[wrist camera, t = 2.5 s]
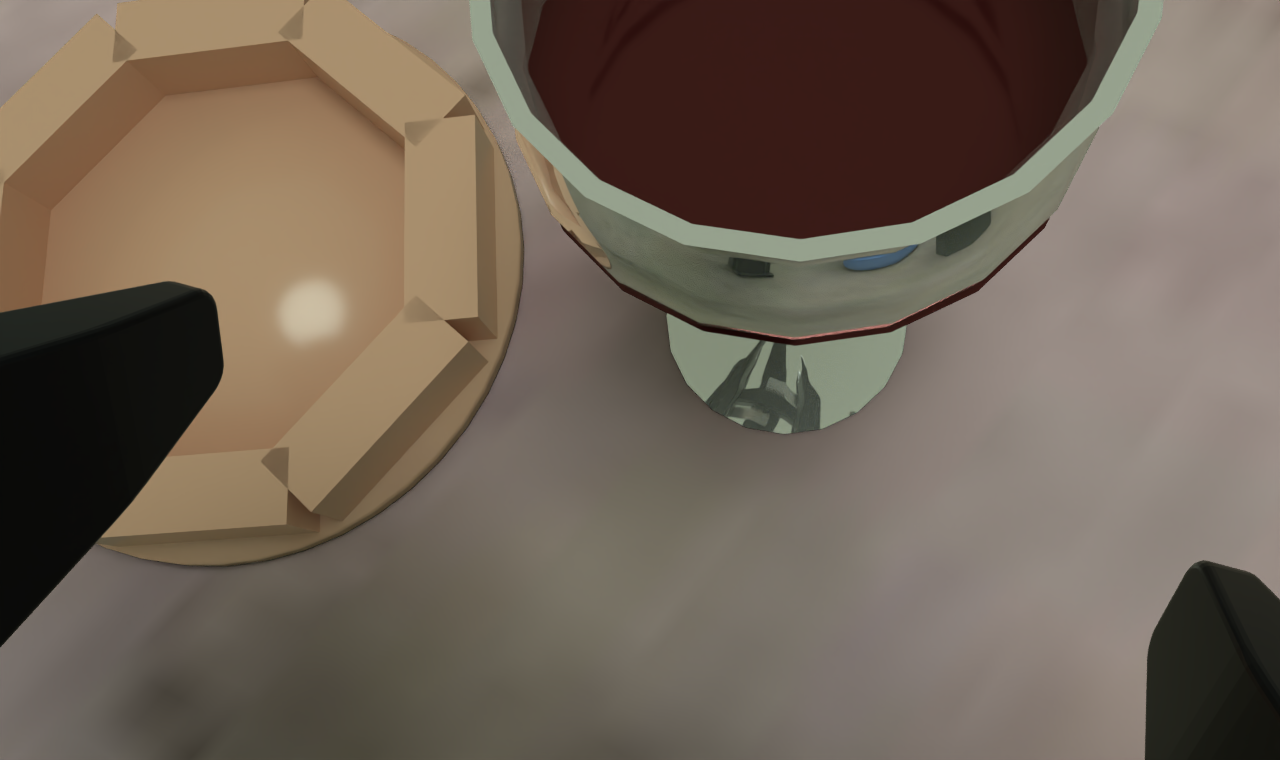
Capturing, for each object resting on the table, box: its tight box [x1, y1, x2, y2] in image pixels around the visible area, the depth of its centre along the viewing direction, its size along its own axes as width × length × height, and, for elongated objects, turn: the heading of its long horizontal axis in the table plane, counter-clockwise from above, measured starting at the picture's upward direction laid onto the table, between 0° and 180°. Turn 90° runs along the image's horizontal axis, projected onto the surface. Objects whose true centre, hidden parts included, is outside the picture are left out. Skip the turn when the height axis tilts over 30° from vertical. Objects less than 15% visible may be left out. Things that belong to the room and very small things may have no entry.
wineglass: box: [469, 0, 1163, 434], centre depth 16 cm, size 7×7×12 cm
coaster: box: [0, 0, 524, 566], centre depth 22 cm, size 13×13×2 cm
